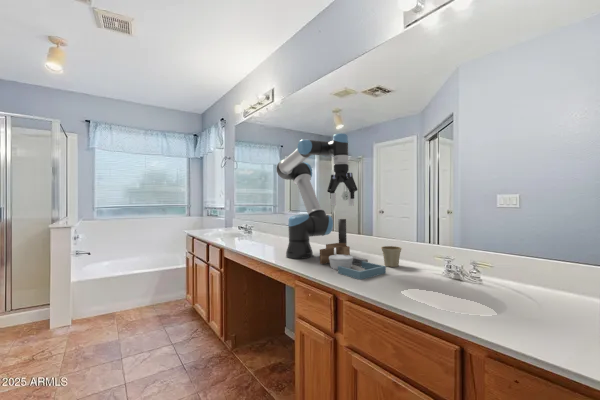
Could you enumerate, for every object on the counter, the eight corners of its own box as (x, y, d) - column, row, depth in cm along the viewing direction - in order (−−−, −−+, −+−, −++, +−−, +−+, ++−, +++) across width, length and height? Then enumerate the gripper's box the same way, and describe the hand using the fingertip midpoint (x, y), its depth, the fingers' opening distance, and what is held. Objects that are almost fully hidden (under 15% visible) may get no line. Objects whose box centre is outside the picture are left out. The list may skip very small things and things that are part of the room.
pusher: (317, 262, 145) (316, 220, 145) (341, 258, 154) (341, 218, 154) (324, 265, 140) (323, 221, 140) (349, 260, 149) (349, 219, 149)
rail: (336, 260, 152) (336, 254, 152) (340, 259, 154) (340, 253, 154) (363, 266, 137) (363, 260, 136) (368, 265, 138) (367, 259, 138)
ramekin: (358, 267, 135) (358, 256, 135) (341, 272, 128) (341, 260, 128) (340, 264, 144) (340, 253, 144) (324, 267, 137) (323, 256, 137)
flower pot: (390, 262, 144) (390, 245, 144) (406, 266, 136) (406, 247, 136) (377, 265, 139) (376, 247, 139) (392, 269, 131) (392, 250, 131)
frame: (338, 273, 126) (337, 266, 126) (363, 267, 135) (363, 261, 135) (359, 279, 116) (359, 272, 116) (385, 273, 124) (385, 266, 124)
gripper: (320, 166, 158) (321, 205, 158) (352, 161, 138) (353, 205, 138) (330, 167, 162) (331, 205, 163) (364, 161, 142) (365, 205, 142)
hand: (342, 205), depth 150 cm, fingers open, 13 cm apart
